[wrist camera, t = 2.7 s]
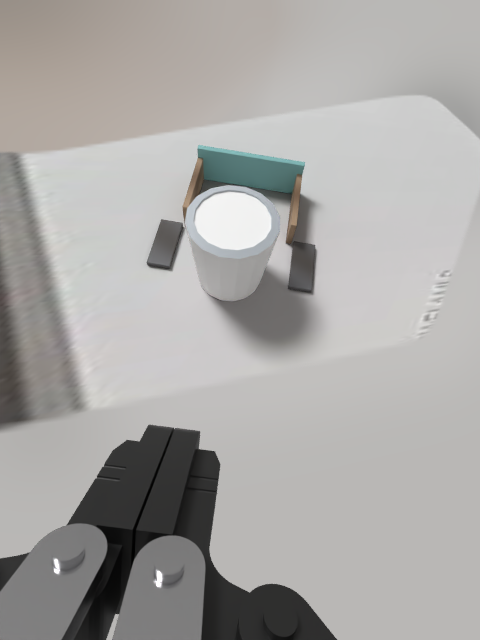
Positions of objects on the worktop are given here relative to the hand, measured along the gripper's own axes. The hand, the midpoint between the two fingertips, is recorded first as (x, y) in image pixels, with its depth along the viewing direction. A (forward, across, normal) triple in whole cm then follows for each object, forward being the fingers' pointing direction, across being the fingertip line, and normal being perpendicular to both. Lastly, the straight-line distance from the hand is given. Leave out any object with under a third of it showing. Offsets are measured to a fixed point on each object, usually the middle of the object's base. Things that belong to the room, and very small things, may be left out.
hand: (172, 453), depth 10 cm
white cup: (+22, 0, -2) cm, 22 cm away
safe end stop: (+30, 0, -10) cm, 32 cm away
